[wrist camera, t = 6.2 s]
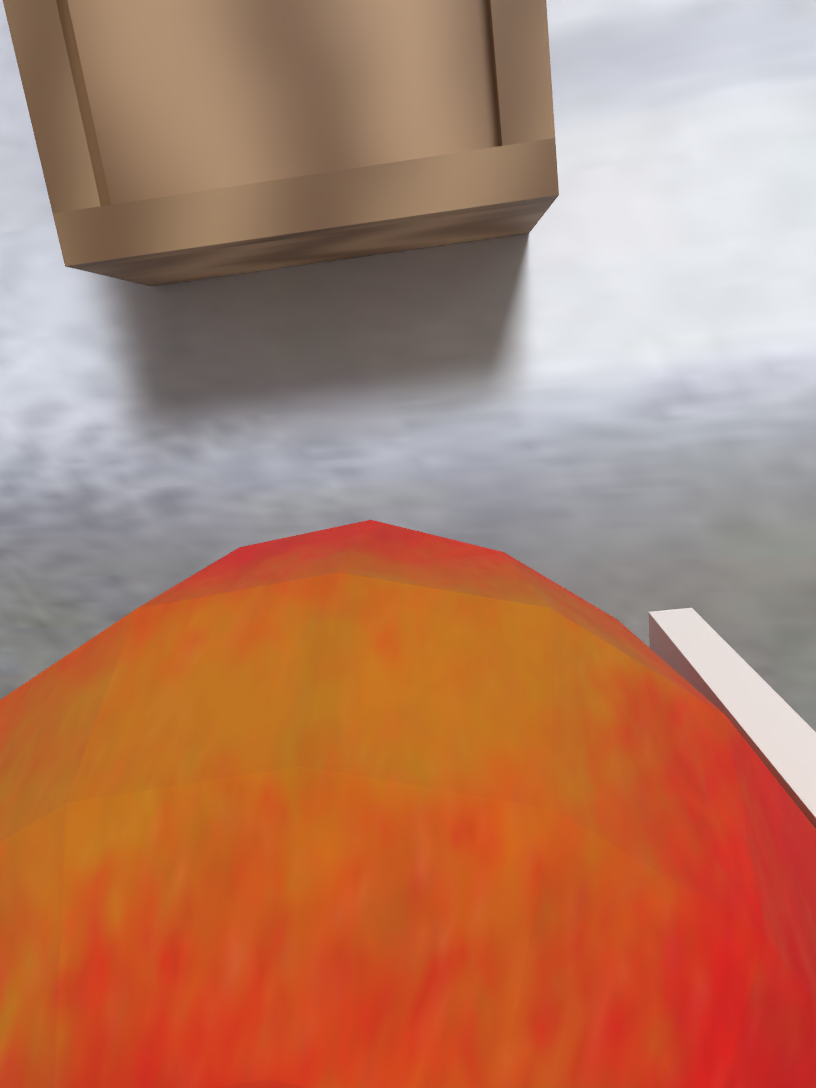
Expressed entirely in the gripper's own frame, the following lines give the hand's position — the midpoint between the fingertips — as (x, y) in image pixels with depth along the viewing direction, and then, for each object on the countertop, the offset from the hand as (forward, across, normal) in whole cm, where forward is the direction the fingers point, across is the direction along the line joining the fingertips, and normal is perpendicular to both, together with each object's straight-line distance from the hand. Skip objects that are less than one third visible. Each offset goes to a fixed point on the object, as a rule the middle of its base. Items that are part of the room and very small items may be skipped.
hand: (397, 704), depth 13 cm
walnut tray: (+18, -2, +18) cm, 25 cm away
